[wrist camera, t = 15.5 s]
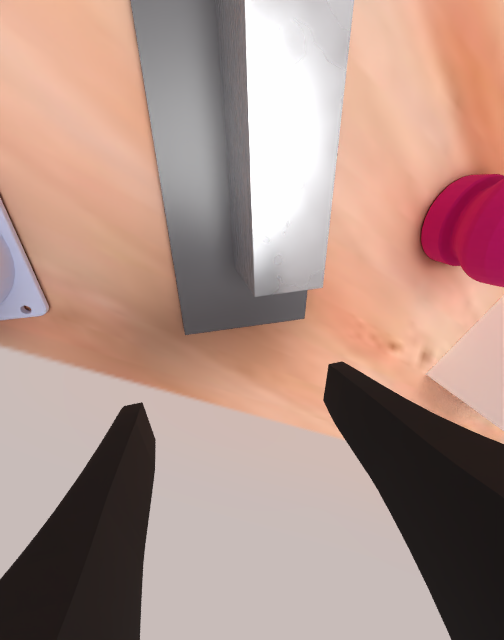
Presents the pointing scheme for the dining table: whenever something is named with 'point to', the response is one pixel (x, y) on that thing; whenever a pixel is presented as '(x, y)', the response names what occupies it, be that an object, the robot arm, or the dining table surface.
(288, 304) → the board
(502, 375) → the milk
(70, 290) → the dining table surface
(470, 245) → the pepper mill
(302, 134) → the bar
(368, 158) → the dining table surface
